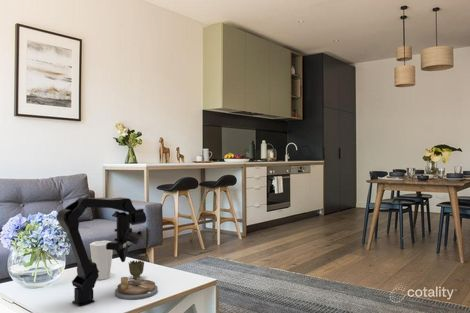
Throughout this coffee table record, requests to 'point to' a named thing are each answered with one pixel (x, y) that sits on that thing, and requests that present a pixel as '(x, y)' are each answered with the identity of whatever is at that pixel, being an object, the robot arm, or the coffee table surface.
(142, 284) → the handwheel
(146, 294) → the wheel base
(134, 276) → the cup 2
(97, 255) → the cup
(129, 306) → the coffee table surface
